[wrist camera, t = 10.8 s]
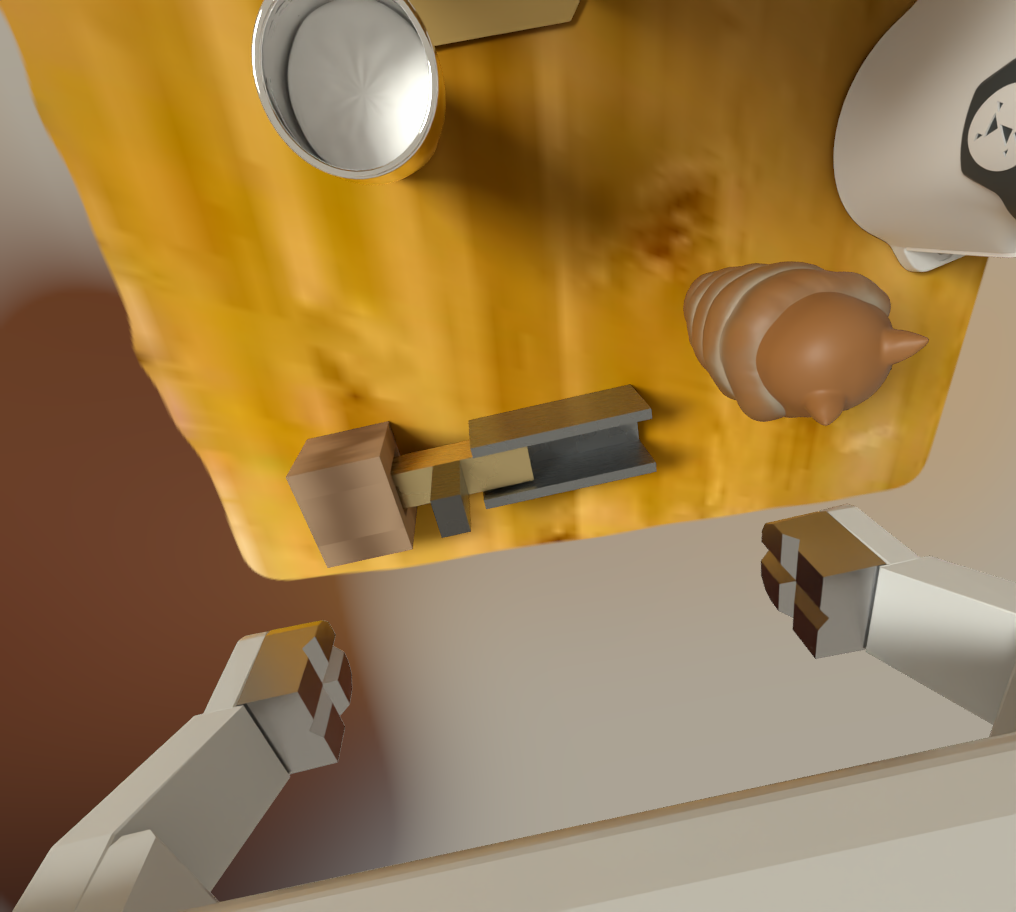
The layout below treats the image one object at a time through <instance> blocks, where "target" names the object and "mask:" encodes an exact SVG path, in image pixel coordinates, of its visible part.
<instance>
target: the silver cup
mask: <svg viewBox="0 0 1016 912" xmlns="http://www.w3.org/2000/svg"><path fill="white" fill-rule="evenodd" d="M251 56H252V69H253V75H254V81H255V85H256V89H257V92H258V95H259V98H260V101H261V103H262V106H263V108H264V110H265V112H266V114H267V116H268V118H269V120H270V122H271V124H272V125H273V127H274V128H275V130H276V131H277V133H278V134H279V135H280V137H281V138H282V139H283V140H284V142H285V143H286V144H287V145H288V146H289V147H290V148H291V149H292V150H293V151H294V152H295V153H296V154H297V155H298V156H300V157H301V158H302V159H303V160H305V161H306V162H307V163H309V164H310V165H312V166H314V167H315V168H317V169H319V170H321V171H323V172H325V173H328V174H331V175H333V176H335V177H337V178H340V179H342V180H345V181H348V182H352V183H357V184H362V185H385V184H390V183H393V182H396V181H399V180H402V179H404V178H406V177H408V176H409V175H411V174H413V173H414V172H416V171H418V170H419V169H421V168H422V167H423V166H424V165H425V164H426V163H427V162H428V161H429V160H430V159H431V157H432V156H433V154H434V152H435V150H436V147H437V145H438V141H439V138H440V135H441V132H442V129H443V124H444V118H445V111H446V89H445V82H444V76H443V72H442V68H441V64H440V61H439V58H438V55H437V52H436V49H435V47H434V45H433V42H432V40H431V38H430V36H429V34H428V31H427V29H426V27H425V25H424V23H423V21H422V19H421V17H420V15H419V14H418V12H417V11H416V9H415V8H414V6H413V5H412V3H411V2H410V1H409V0H264V1H263V3H262V5H261V7H260V9H259V12H258V15H257V18H256V21H255V25H254V30H253V36H252V49H251Z"/></svg>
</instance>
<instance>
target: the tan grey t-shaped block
mask: <svg viewBox="0 0 1016 912" xmlns="http://www.w3.org/2000/svg"><path fill="white" fill-rule="evenodd" d="M390 473H391V476H392V479H393V482H394V485H395V487H396V490H397V493H398V496H399V499H400V502H401V504H402V507H403V509H406V508H410V507H415V506H419V505H424V504H428V503H431V505H432V509H433V512H434V515H435V518H436V521H437V524H438V527H439V530H440V533H441V536H442V538H443V537H448V536H452V535H457V534H461V533H466V532H471V523H470V503H469V494H473V493H478V492H482V491H487V490H491V489H496V488H500V487H505V486H509V485H514V484H518V483H523V482H527V481H532V480H534V478H533V473H532V468H531V463H530V458H529V454H528V449H527V447H522V448H518V449H513V450H509V451H504V452H500V453H495V454H491V455H486V456H482V457H477V458H473V457H472V453H471V449H470V440H467V441H463V442H458V443H454V444H449V445H445V446H440V447H436V448H431V449H427V450H422V451H418V452H413V453H409V454H404V455H400V456H395V457H393V462H392V466H391V471H390Z"/></svg>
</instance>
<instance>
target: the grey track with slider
mask: <svg viewBox="0 0 1016 912" xmlns="http://www.w3.org/2000/svg"><path fill="white" fill-rule="evenodd" d="M648 419H652V410H651V407H650V406H649V405H648V404H647V403H646V402H645V401H644V399H643V398H642V397H641V396H640V395H639V394H638V393H637V391H636V390H635V389H634V388H633V387H632V386H631V385H625V386H621V387H616V388H612V389H607V390H603V391H599V392H594V393H590V394H585V395H581V396H576V397H572V398H567V399H563V400H558V401H554V402H549V403H545V404H540V405H536V406H531V407H527V408H522V409H518V410H513V411H509V412H505V413H500V414H496V415H491V416H487V417H482V418H478V419H473V420H469V436H470V449H471V453H472V457H473V458H477V457H482V456H486V455H491V454H495V453H500V452H504V451H509V450H513V449H518V448H522V447H527V449H528V454H529V458H530V463H531V468H532V473H533V478H534V480H532V481H527V482H523V483H518V484H514V485H509V486H505V487H500V488H496V489H491V490H487V491H483V496H484V502H485V506H486V509H489V508H494V507H498V506H503V505H507V504H512V503H516V502H521V501H525V500H530V499H534V498H539V497H543V496H548V495H552V494H557V493H561V492H566V491H571V490H575V489H580V488H584V487H589V486H593V485H598V484H602V483H607V482H611V481H616V480H620V479H625V478H629V477H634V476H638V475H643V474H647V473H652V472H656V462H655V461H654V459H653V458H652V456H651V455H650V454H649V452H648V451H647V450H646V448H645V447H644V445H643V444H642V443H641V441H640V440H639V434H638V424H637V422H639V421H643V420H648Z"/></svg>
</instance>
